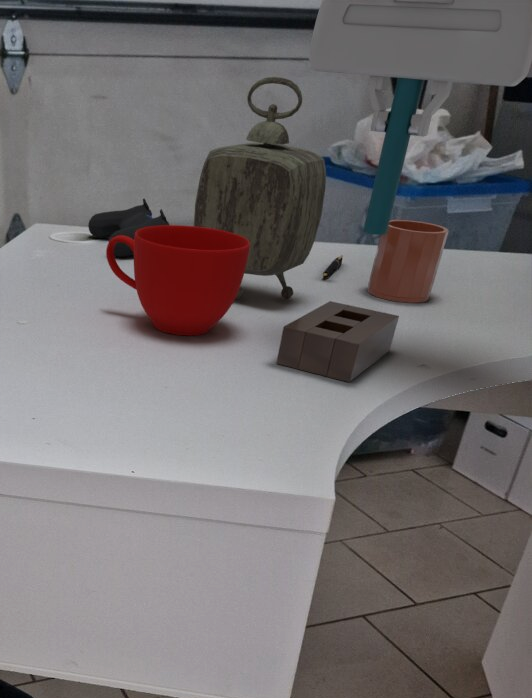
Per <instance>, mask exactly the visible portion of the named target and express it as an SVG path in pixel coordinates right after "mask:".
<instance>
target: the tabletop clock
mask: <svg viewBox="0 0 532 698" xmlns="http://www.w3.org/2000/svg"><path fill="white" fill-rule="evenodd" d="M269 84H275V85H282V86H286V87H288V88H290V89H292V91H293V92H294V93H295V94H296V96H297V100H298V101H297V104H296V106H295V107H294V108H292V109H291V110H289V111H284V112H278V106H277V104H276V103H275V104H274V103H272V104H270V105H268V109H267V110H263V109H261V108H259V107H257V106H256V105H255V104H254V103H253V101H252V96H253V93H254V92H255V91H256V90H257V89H258V88H260V87H262V86H265V85H269ZM246 100H247V105H248V107H249V108H250V110H251V111H252V113H254V114H256V115H257V116H259V117H262V118H265V119H266V120H263V121H259V122H257V123H256V124H255V125H253V127H252V128H251V129H250V131H248V134H247V136H246V139H245V140H247V142H246V143H241V144H233V145H226V146H219V147H217V148H214V149H212V150H210V151H209V152H208V155H207V156H206V158H205V161H204V163H203V165H202V168H201V172H200V176H199V182H198V187H197V192H196V197H195V203H194V213H193V214H194V215H193V216H194V217H193V226H195V227H204V228H211V229H217V230H222V231H227V232H231V233H234V234H237V235H240V236H242V237H244V238H246V239H247V240H248V241H249V242H250V248H249V254H248V259H247V264H246V268H245V272H244V275H253V276H263V277H269V276H276V278H277V279H278V281H279V283H280V285H281V288H282V289H281V291H280V295H281V297H282V298H283V299H285V300H288V299H291V298H292V297H293V295H294V289H293V287H291V286H289V285H287V282H286V278H285V272H287V271H289V270H292V269H294V268H296V267H299V266H301V265H303V264H304V263H305V262H306V261H307V258H308V257H309V255H310V253H311V251H312V249H313V246H314V243H315V240H316V237H317V234H318V230H319V227H320V223H321V219H322V215H323V209H324V201H325V196H326V195H325V194H326V185H327V170H326V162H325V159H324V158H323V157H322V156H320V155H319V154H317V153H316V152H313V151H311V150H309V149H305V148H301V147H297V146H292V145H288V144H290V138H289V134H288V130H287V128H286V127H285V126H284V125H283V124H282V123H279V122H277V121H276V120H282V119H287V118H289V117H292V116H293V115H295V114H296V113H298V112H299V110H300V108H301V107H302V105H303V94H302V91H301V89H300V87H299V86H298V84H296V83H295V82H294V81H293V80H291V79H288V78H284V77H279V76H267V77H264V78H262V79H259V80H257V81H256V82H255V83H254V84H253V85H252V86H251V87H250V88H249V91H248V93H247V99H246ZM242 295H243V288H242V287H241V286H240V288H239V291H238V293H237V296H236V298H235V300H237V299H240V298H241V297H242Z"/></svg>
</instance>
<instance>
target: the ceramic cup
mask: <svg viewBox="0 0 532 698" xmlns="http://www.w3.org/2000/svg"><path fill="white" fill-rule="evenodd" d="M117 242H123V243H126V244H127V245H128V246H129V247H130V248H131V249H132V251H133V253H134V254H133V275H134V278H132V277H131V276H129V275H128V274H127V273H126V272H124V271H123V270H122V268H120V266H119V264H118V262H117V260H116V256H114V246H115V244H116V243H117ZM249 248H250V242H249V241H248V240H247V239H246V238H244V237H242V236H240V235H237V234H234V233H231V232H227V231H222V230H217V229H211V228H204V227H195V226H194V225H181V224H180V225H179V224H169V225H161V226H150V227H145V228H141V229H139V230H137V231H136V232H135V237H134V240H133V239H132V238H130V237H128V236H124V235H119V236H116V237H114V238H112V239H111V240H110V242H109V241H108V244H107V245H106V253H105V255H106V259H107V264H108V266H109V268H110V270H111V272H112V273H113V274H114V275H115V276H116V278H118V279H119V280H120V281H122V282H123V283H124V284H126V285H127V286H129V287H131V288H132V289H134V290H136V292H137V297H138V300H139V302H140V305H141V307H142V309H143V311H144V312H145V314H146V315H147V317H148V318H149V320H150V321H151V322H152V324H153V327H154V328H155V329H157V330H159V331H161V332H164V333H166V334H171V335H177V336H200V335H203V334H207V333H209V332H210V329H212V327H214V326H216V324H217V323H218V322H219V321H220V320H221V319H222V318H223V317H224V316H225V315H226V314H227V313H228V311H229V309H230V308H231V307H232V305H233V304H234V302H235V300H236V299H235V298H236V296H237V293H238V291H239V288H240V287H241V286H242V282H243V278H244V276H245V274H244V272H245V268H246V264H247V259H248V254H249Z"/></svg>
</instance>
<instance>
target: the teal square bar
mask: <svg viewBox="0 0 532 698" xmlns="http://www.w3.org/2000/svg"><path fill="white" fill-rule="evenodd" d="M424 81H425V80H422V79H409V78H397V80H396V85H395V90H394V94H393V99H392V101H391V102H392V103H391V107H390V110H389V111H390V116H389V120H388V124H387V129H386V132H384V133H385V134H384V136H383V137H384V138H383V141H382V146H381V150H380V156H379V161H378V163H377V167H376V168H377V169H376V174H375V177H374V181H373V186H372V191H371V195H370V200H369V204H368V209H367V213H366V216H365V222H364V226H363V230H362V231H363V232H364V233H367V234H371V235H383V234H386V233H387V230H388V226H389V222H390V220H391V217H392V213H393V209H394V205H395V202H396V198H397V197H396V196H397V194H398V193H397V192H398V188H399V185H400V181H401V176H402V173H403V172H402V171H403V168H404V163H405V160H406V155H407V152H408V148H409V143H410V140H411V135H408V130H409V127H410V126H411V123H410V122H411V118H412V114H417V110H418V106H419V103H420V97H421V93H422V90H423V86H424Z"/></svg>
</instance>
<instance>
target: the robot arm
mask: <svg viewBox="0 0 532 698" xmlns="http://www.w3.org/2000/svg"><path fill="white" fill-rule="evenodd" d="M319 5H320V6H319V9H318V12H317V16H316V19H315V23H314V27H313V32H312V35H311V40H310V45H309V51H308V61H309V63H310V65H311V68H312V70H313V71H314V72H323V73H334V74H349V75H359V76H360V75H361V76H369V78H368V84H367V87H366V88H367V89H366V90H367V94H368V98H369V101H370V105H371V109H372V111H373V115H372V119H371V124H370V131H371V132H376V133H377V132H378V133H379V132H380V133H386V129H387V124H388V120H389V116H390V111H391V110H387V108H386V103H385V99H384V95H383V91H387V90H388V89H389V86H390V80H391V78H397V79H398V78H409V79H422V80H424V81H431V86H430V89H429V95H430V96H434V97H433V98H432V99H431V101H430V102H429V103H428V104H427V106H426V107H425V108H424V110H423V111H422V112H421V113H416V114H412V118H411V122H410V123H411V126H410V127H409V130H408V135H410V136H414V137H426V136H427V135H428V133H429V129H430V125H431V121H432V117H433V116H434V115H435V114H436V113H437V112H438V110H439V109H440V108H441V107H442V105H444V103H445V101H446V100H447V99H448V98H449V96H450V95H451V91H452V87H453V83H462V84H473V85H474V84H475V85H485V86H499V87H516V86H517V85H519V84H520V83H521V82H522V81H523V80H525V78H527V76H528V74H529V72H530V69H531V65H532V0H321V1H320V4H319Z"/></svg>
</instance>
